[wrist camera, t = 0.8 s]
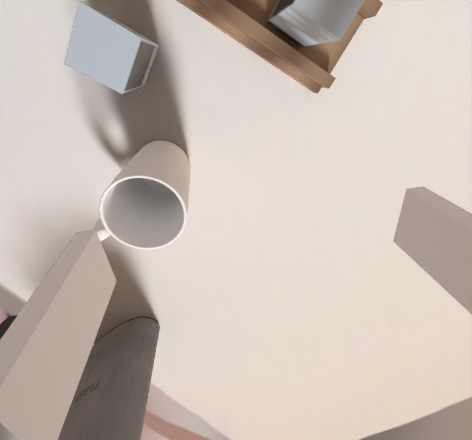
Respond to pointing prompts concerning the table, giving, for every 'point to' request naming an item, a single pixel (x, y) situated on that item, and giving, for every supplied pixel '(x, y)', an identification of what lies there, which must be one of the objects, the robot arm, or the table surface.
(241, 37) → the rail
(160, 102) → the table surface
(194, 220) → the table surface
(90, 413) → the flask
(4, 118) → the table surface
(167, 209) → the mug
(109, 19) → the block
